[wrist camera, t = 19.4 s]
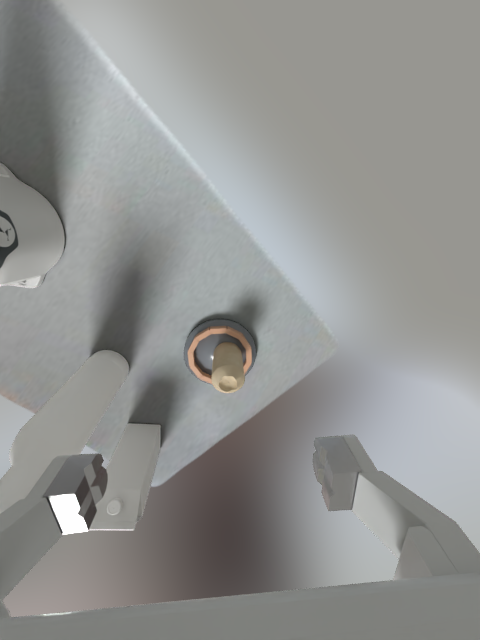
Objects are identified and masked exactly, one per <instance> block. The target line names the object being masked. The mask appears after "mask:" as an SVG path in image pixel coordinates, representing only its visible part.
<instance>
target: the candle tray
mask: <svg viewBox="0 0 480 640" xmlns="http://www.w3.org/2000/svg"><path fill="white" fill-rule="evenodd" d="M224 342H231V343H234V344H236V345H237V346H238V347H239V348H240V350H241V353H242V360H243V368H244V375H245V376H246V375H247V374H248V373H249V371H250V370H251V369H252V367H253V365H254V362H255V358H256V348H255V344H254V340H253V338H252V336H251V334H250V333H249V332H248V330H247V329H245V328H244V327H243V326H242V325H240V324H238V323H237V322H234V321H231V320H227V319H213V320H209V321H206V322H204V323H202V324H200V325H198V326H197V327H196V328H195V329H194V330H193V331H192V332H191V333H190V334H189V336H188V338H187V340H186V343H185V347H184V360H185V363H186V366H187V367H188V369H189V371H190V372H191V373H192V374H193V375H194V376H195V377H196V378H198V379H199V380H201V381H203V382H205V383H208V384H212V381H211V377H212V363H213V353H214V350H215V348H216V347H217V346H218V345H219V344H221V343H224ZM212 385H213V384H212Z"/></svg>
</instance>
